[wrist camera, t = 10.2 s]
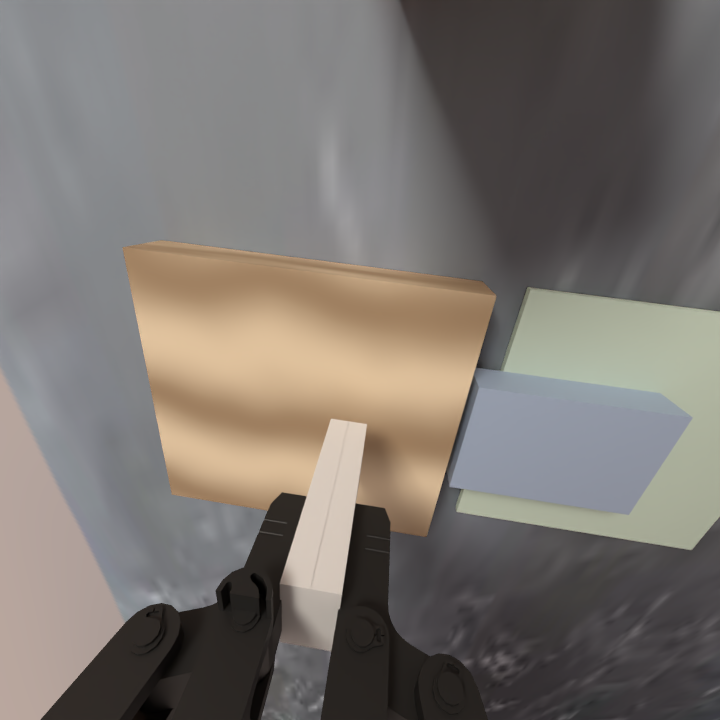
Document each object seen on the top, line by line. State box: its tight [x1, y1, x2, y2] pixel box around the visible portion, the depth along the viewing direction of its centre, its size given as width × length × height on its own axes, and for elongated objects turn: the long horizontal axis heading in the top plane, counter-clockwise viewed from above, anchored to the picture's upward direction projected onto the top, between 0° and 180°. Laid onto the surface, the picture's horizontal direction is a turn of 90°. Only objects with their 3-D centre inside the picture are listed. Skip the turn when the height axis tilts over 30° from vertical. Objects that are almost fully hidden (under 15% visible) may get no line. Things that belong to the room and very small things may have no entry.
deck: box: [123, 240, 496, 537], centre depth 18 cm, size 14×15×2 cm
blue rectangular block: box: [446, 368, 693, 515], centre depth 17 cm, size 9×6×2 cm, turn 84°
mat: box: [456, 287, 720, 550], centre depth 18 cm, size 14×14×1 cm
